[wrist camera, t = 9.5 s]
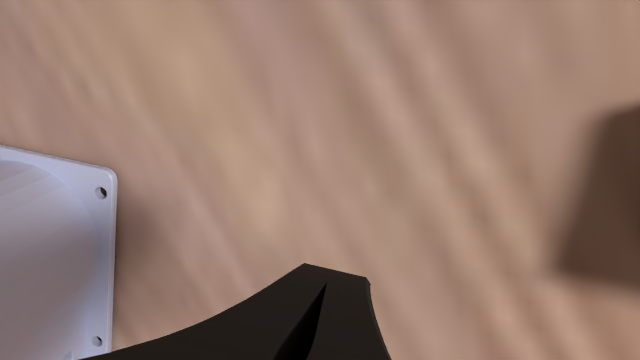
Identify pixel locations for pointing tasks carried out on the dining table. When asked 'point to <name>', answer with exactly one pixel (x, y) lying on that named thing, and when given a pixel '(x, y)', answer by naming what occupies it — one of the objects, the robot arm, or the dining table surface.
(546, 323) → the dining table surface
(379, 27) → the dining table surface
